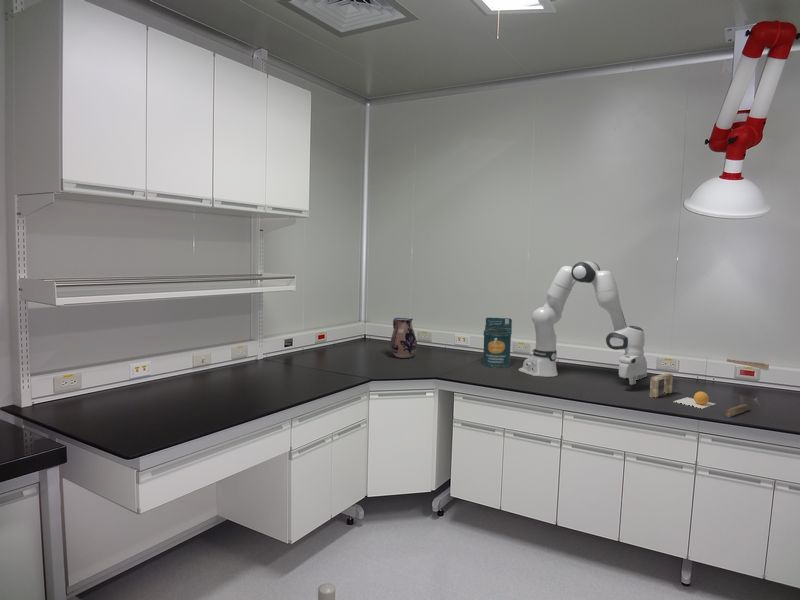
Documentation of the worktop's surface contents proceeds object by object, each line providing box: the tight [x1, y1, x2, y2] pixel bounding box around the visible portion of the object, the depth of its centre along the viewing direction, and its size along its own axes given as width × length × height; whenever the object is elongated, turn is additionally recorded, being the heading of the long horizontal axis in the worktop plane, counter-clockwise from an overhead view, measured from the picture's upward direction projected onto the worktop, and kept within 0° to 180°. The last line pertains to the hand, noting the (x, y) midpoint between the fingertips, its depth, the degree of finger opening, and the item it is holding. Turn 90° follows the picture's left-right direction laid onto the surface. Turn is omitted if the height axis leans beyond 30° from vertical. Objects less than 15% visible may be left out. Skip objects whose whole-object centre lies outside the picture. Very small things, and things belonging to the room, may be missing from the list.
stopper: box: [723, 403, 749, 418], centre depth 232 cm, size 2×18×2 cm, turn 125°
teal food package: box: [482, 317, 513, 369], centre depth 321 cm, size 16×16×28 cm
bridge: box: [649, 372, 674, 399], centre depth 259 cm, size 3×15×10 cm, turn 125°
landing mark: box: [672, 396, 716, 410], centre depth 246 cm, size 13×13×1 cm
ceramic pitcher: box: [389, 317, 418, 359], centre depth 343 cm, size 18×21×25 cm
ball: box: [693, 391, 710, 405], centre depth 244 cm, size 6×6×6 cm
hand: (632, 384), depth 271 cm, fingers closed
